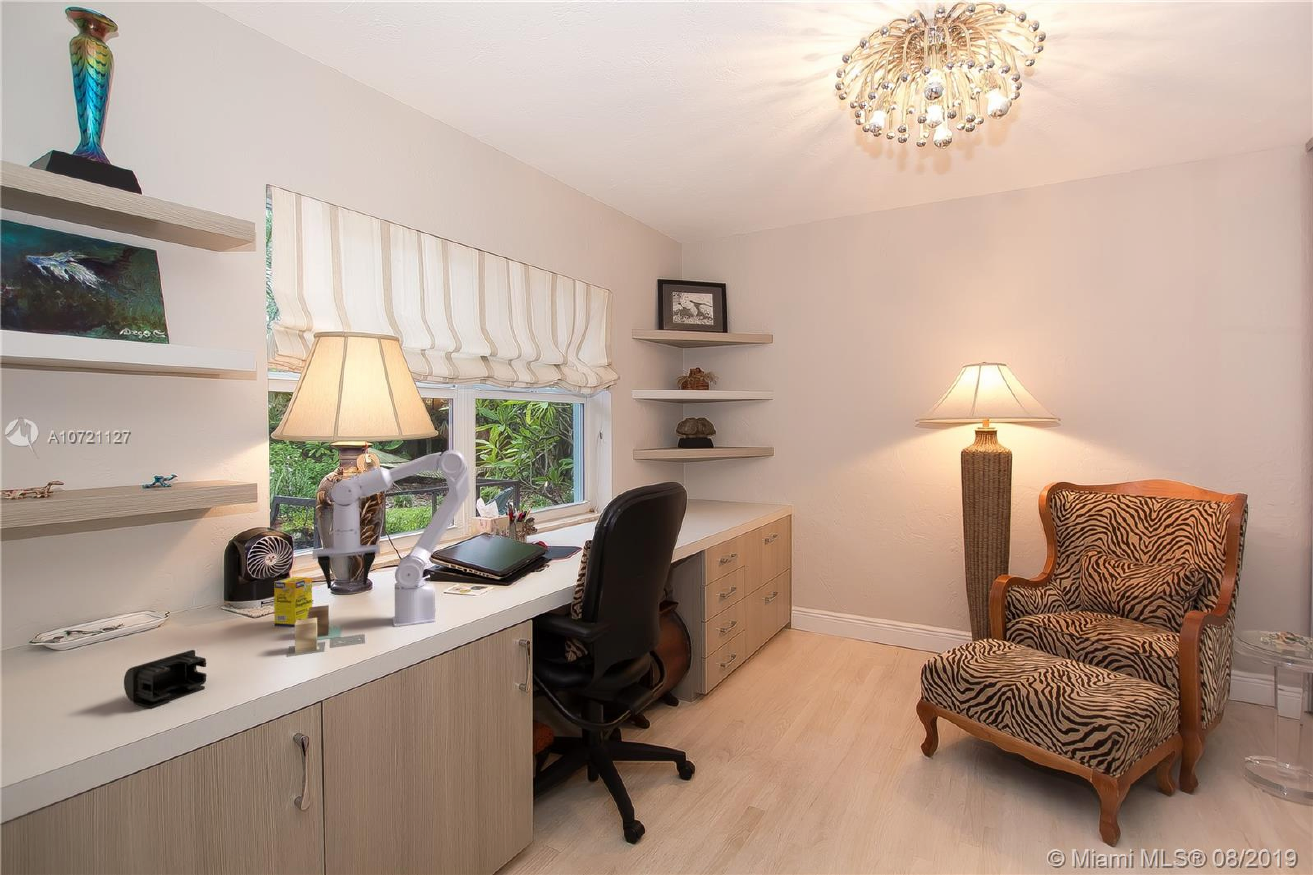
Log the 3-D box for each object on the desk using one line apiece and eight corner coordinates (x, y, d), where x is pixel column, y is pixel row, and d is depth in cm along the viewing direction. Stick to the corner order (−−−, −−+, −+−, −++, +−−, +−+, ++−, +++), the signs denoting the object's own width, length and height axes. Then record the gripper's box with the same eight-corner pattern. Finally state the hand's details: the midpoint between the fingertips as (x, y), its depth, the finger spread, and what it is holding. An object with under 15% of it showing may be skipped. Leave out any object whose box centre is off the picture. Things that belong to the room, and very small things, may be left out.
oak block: (317, 644, 140) (317, 617, 140) (316, 650, 136) (316, 622, 136) (296, 647, 138) (296, 620, 138) (295, 653, 135) (294, 625, 135)
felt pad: (341, 627, 153) (340, 625, 153) (340, 638, 145) (340, 636, 145) (298, 632, 149) (298, 631, 149) (295, 643, 141) (295, 642, 141)
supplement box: (295, 628, 153) (294, 582, 153) (273, 626, 154) (273, 581, 154) (313, 620, 159) (312, 577, 159) (292, 619, 160) (291, 576, 160)
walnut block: (328, 630, 150) (328, 605, 150) (328, 635, 146) (328, 609, 146) (309, 633, 148) (309, 607, 148) (308, 638, 144) (308, 611, 144)
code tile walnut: (364, 634, 147) (364, 633, 147) (365, 643, 141) (365, 643, 141) (330, 639, 144) (330, 638, 144) (329, 648, 138) (329, 647, 138)
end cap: (185, 683, 120) (185, 647, 120) (209, 689, 117) (208, 652, 117) (123, 704, 111) (122, 665, 111) (147, 711, 108) (146, 671, 108)
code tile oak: (325, 642, 142) (325, 641, 142) (324, 652, 136) (324, 651, 136) (289, 647, 139) (289, 646, 139) (286, 657, 133) (286, 656, 133)
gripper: (378, 525, 160) (379, 579, 160) (313, 529, 154) (314, 585, 154) (380, 529, 154) (380, 585, 154) (311, 533, 147) (312, 592, 147)
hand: (347, 585), depth 153 cm, fingers open, 7 cm apart
